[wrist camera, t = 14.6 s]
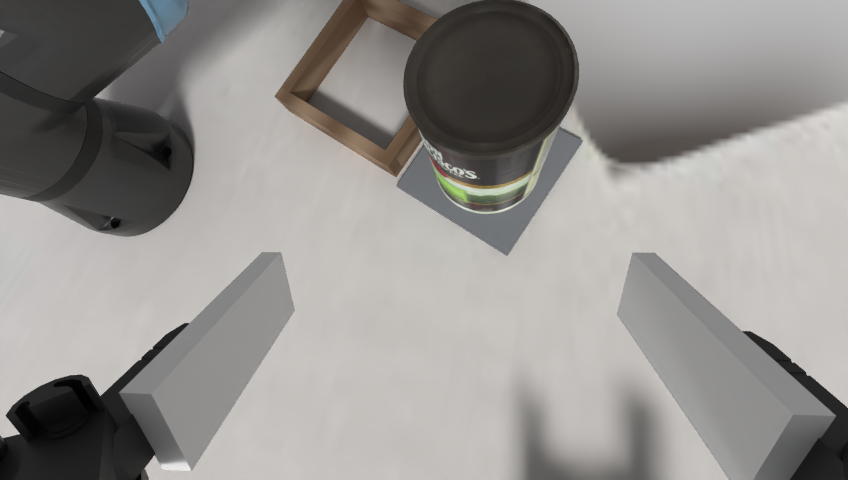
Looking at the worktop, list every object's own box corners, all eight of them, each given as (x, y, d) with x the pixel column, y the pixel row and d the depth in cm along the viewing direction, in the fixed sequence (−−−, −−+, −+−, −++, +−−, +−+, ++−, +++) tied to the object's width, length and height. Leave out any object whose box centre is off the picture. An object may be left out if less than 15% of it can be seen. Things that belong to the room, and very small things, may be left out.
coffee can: (481, 237, 33) (477, 191, 20) (415, 161, 36) (370, 74, 22) (566, 166, 33) (621, 71, 19) (493, 95, 36) (496, -33, 22)
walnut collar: (289, 111, 40) (274, 96, 37) (366, 4, 41) (356, -19, 38) (396, 177, 37) (388, 166, 34) (477, 58, 37) (477, 37, 34)
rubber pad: (397, 187, 36) (396, 185, 36) (467, 85, 37) (467, 82, 36) (507, 255, 33) (507, 255, 33) (581, 143, 34) (582, 140, 33)
